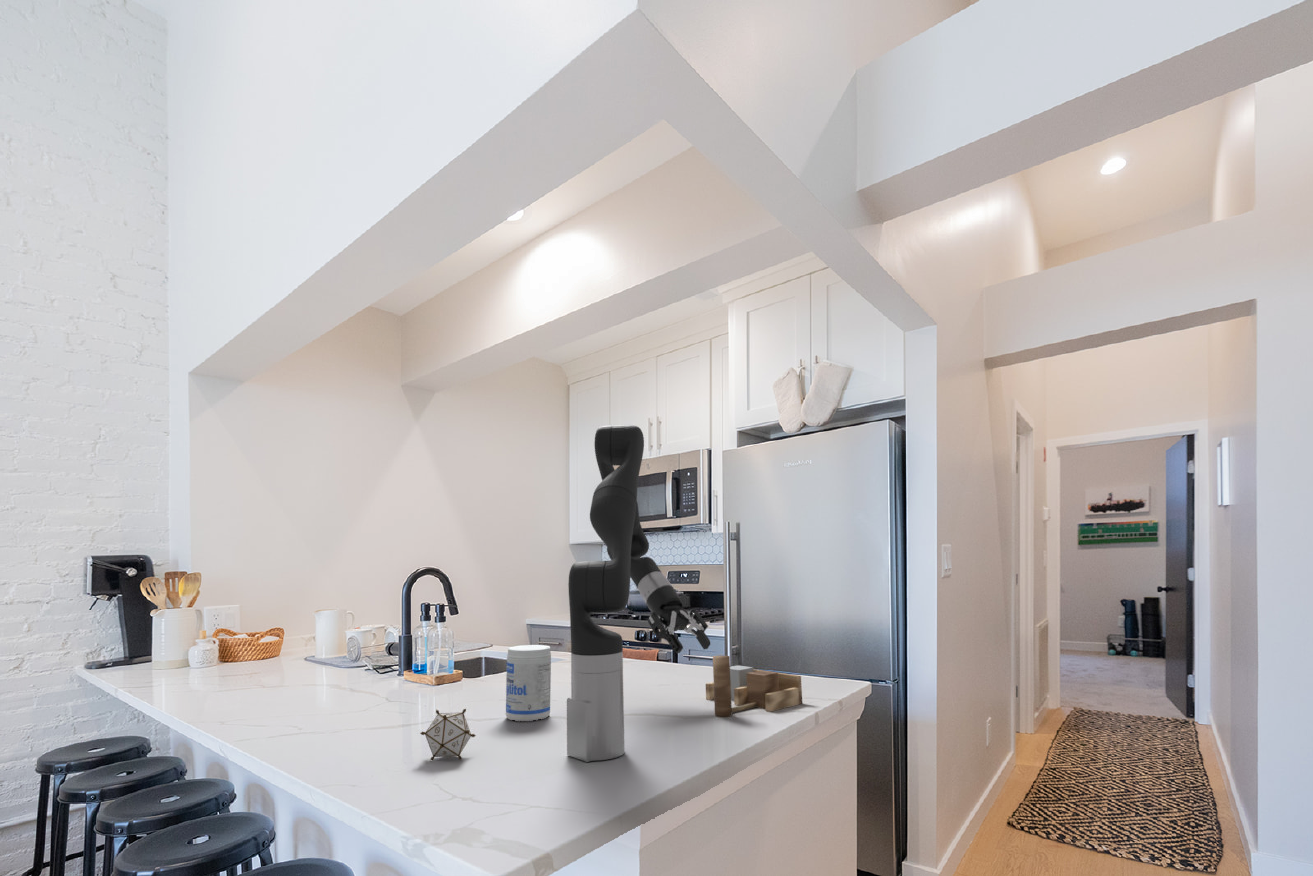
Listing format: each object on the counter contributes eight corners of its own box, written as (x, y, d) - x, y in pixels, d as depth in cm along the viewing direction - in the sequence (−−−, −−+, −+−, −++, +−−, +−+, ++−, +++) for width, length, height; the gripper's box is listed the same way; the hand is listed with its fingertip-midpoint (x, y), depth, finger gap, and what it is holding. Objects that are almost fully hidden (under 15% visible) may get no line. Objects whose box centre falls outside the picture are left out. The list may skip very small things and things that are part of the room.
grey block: (740, 701, 163) (738, 670, 164) (724, 698, 166) (723, 668, 168) (754, 698, 166) (753, 667, 167) (739, 695, 170) (737, 665, 171)
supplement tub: (497, 721, 150) (497, 649, 152) (520, 711, 158) (520, 644, 161) (537, 724, 146) (537, 650, 149) (558, 713, 155) (558, 644, 157)
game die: (456, 778, 124) (490, 725, 128) (445, 773, 117) (481, 717, 121) (416, 750, 126) (451, 699, 130) (402, 744, 119) (440, 690, 123)
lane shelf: (769, 711, 152) (768, 682, 153) (706, 699, 166) (705, 672, 167) (802, 703, 159) (800, 675, 160) (738, 692, 173) (737, 666, 174)
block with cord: (726, 718, 147) (723, 658, 149) (709, 714, 150) (707, 656, 152) (779, 705, 158) (776, 649, 160) (762, 702, 162) (760, 647, 163)
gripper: (643, 585, 162) (678, 640, 152) (688, 582, 171) (724, 634, 161) (629, 608, 165) (663, 663, 155) (674, 604, 174) (708, 656, 164)
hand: (694, 648), depth 158 cm, fingers open, 8 cm apart
